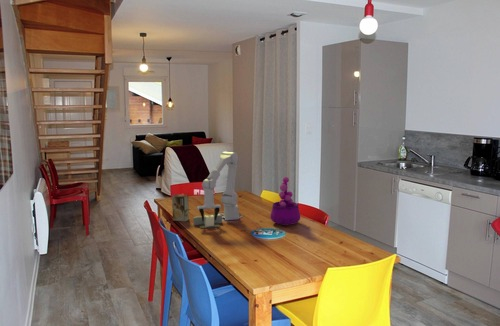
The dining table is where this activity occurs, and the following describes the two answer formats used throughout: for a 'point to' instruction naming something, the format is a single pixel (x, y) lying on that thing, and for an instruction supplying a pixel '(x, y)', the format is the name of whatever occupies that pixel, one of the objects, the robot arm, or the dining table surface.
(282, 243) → the dining table surface
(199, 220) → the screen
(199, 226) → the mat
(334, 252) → the dining table surface
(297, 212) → the decorative plant
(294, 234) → the dining table surface
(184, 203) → the coffee box
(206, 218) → the letter block
